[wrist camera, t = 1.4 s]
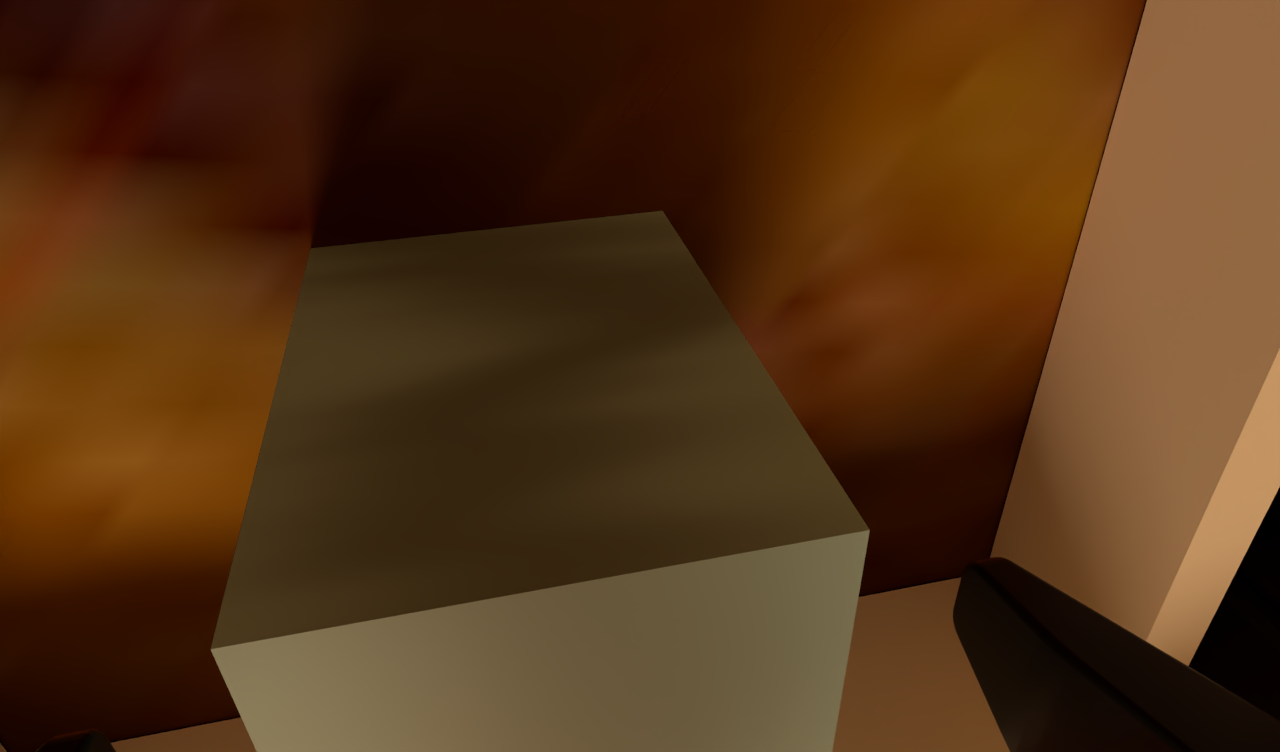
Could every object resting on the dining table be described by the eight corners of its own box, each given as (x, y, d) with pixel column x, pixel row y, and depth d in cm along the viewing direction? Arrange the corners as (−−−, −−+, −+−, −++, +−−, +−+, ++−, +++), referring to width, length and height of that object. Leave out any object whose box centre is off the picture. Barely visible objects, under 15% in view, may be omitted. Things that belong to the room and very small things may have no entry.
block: (662, 210, 13) (869, 530, 7) (664, 471, 15) (814, 856, 10) (310, 247, 12) (209, 649, 6) (379, 517, 14) (356, 972, 9)
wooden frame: (1242, -83, 12) (1553, -51, 9) (1021, 600, 20) (1143, 754, 16) (-679, 18, 8) (-1397, 142, 5) (-29, 812, 16) (-145, 1068, 13)
